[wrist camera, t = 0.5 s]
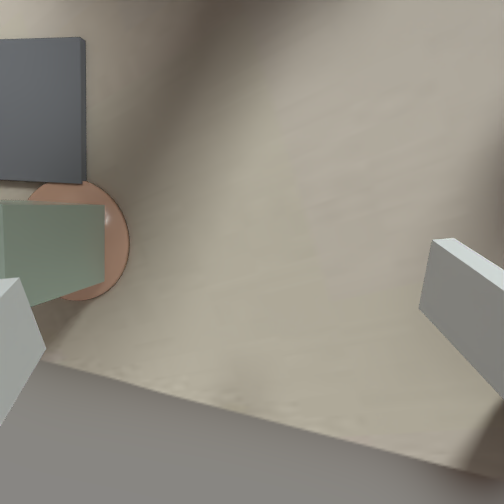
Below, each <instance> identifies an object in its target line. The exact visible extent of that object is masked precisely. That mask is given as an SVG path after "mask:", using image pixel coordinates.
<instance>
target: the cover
mask: <svg viewBox="0 0 504 504" xmlns="http://www.w3.org/2000/svg"><path fill="white" fill-rule="evenodd" d="M18 277H19V278H20V280H21V283H22V286H23V288H24V291H25V293H26V296H27V299H28V301H29V304H30V307H32V306H35V305H38V304H41V303H44V302H47V301H50V300H52V299H55V298H58V297H61V296H64V295H67V294H70V293H73V292H76V291H78V290H81V289H84V288H87V287H90V286H93V285H96V284H99V283H101V282H104V281H105V205H96V204H81V203H66V202H51V201H34V200H0V279H7V278H18Z"/></svg>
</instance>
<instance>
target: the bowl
mask: <svg viewBox="0 0 504 504" xmlns="http://www.w3.org/2000/svg"><path fill="white" fill-rule="evenodd" d="M28 200H34V201H51V202H66V203H81V204H96V205H105V281H104V282H101V283H99V284H96V285H93V286H90V287H87V288H84V289H81V290H78V291H76V292H73V293H70V294H67V295H64V296H61V297H60V298H63V299H67V300H74V301H80V300H87V299H91V298H94V297H96V296H99V295H101V294H103V293H105V292H106V291H108V290H109V289H110V288H111V287H113V286H114V284H115V283H116V282H117V281H118V280H119V278H120V277H121V275H122V273H123V271H124V269H125V267H126V264H127V261H128V256H129V247H130V242H129V233H128V228H127V224H126V221H125V218H124V216H123V214H122V212H121V210H120V208H119V207H118V205H117V204H116V203H115V201H114V200H113V199H112V198H111V197H110V196H109V195H108V194H107V193H106V192H105V191H104V190H102V189H101V188H99V187H98V186H96V185H94V184H92V183H90V182H87V181H83V184H74V183H55V182H48V183H46V184H44V185H42V186H41V187H39V188H38V189H37V190H36V191H35V192H34V193H33V194H32V195H31V196H30V197H29V199H28Z"/></svg>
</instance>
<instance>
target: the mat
mask: <svg viewBox="0 0 504 504" xmlns="http://www.w3.org/2000/svg"><path fill="white" fill-rule="evenodd" d="M0 180H16V181H35V182H55V183H74V184H83V181H86V41H85V40H84V39H82V38H81V37H66V38H33V39H0Z"/></svg>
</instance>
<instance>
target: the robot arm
mask: <svg viewBox="0 0 504 504" xmlns="http://www.w3.org/2000/svg"><path fill="white" fill-rule="evenodd" d="M419 309H420V310H421V311H422V312H423V314H424V315H425V316H426V317H427V318H428V319H429V320H430V321H431V322H432V323H433V324H434V325H435V326H436V327H437V328H438V330H439V331H440V332H441V333H442V334H443V335H444V336H445V337H446V338H447V339H448V340H449V341H450V342H451V343H452V345H453V346H454V347H455V348H456V349H457V350H458V351H459V352H460V353H461V354H462V355H463V356H464V357H465V358H466V360H467V361H468V362H469V363H470V364H471V365H472V366H473V367H474V368H475V369H476V370H477V371H478V372H479V373H480V375H481V376H482V377H483V378H484V379H485V380H486V381H487V382H488V383H489V384H490V385H491V386H492V387H493V388H494V390H495V391H496V392H497V393H498V394H499V395H500V396H501V397H502V398H503V399H504V270H503V269H502V268H500V267H499V266H497V265H495V264H494V263H492V262H491V261H489V260H488V259H486V258H484V257H483V256H481V255H480V254H478V253H477V252H475V251H473V250H472V249H470V248H469V247H467V246H466V245H464V244H462V243H461V242H459V241H458V240H456V239H455V238H447V239H436V240H432V243H431V248H430V253H429V258H428V263H427V268H426V273H425V278H424V283H423V288H422V294H421V299H420V304H419ZM45 350H46V347H45V344H44V341H43V339H42V336H41V333H40V331H39V328H38V325H37V323H36V320H35V317H34V315H33V312H32V309H31V307H30V304H29V301H28V299H27V296H26V293H25V291H24V288H23V286H22V283H21V280H20V278H19V277H18V278H7V279H0V427H1V425H2V423H3V421H4V420H5V418H6V416H7V415H8V413H9V411H10V410H11V408H12V406H13V405H14V403H15V401H16V399H17V398H18V396H19V394H20V392H21V391H22V389H23V387H24V386H25V384H26V382H27V381H28V379H29V377H30V375H31V374H32V372H33V370H34V368H35V367H36V365H37V364H38V362H39V360H40V358H41V357H42V355H43V353H44V352H45Z"/></svg>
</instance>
